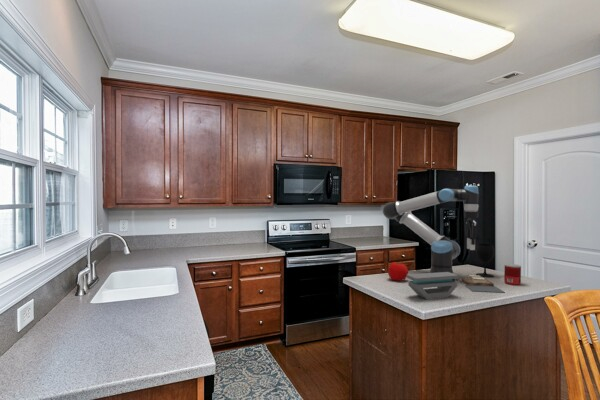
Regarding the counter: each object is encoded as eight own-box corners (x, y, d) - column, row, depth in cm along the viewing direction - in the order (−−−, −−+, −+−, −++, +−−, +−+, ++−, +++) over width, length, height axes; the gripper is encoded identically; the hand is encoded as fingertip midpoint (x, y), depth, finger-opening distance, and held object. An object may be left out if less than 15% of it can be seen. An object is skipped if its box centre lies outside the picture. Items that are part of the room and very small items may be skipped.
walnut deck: (467, 285, 183) (467, 282, 183) (461, 281, 193) (461, 278, 193) (493, 287, 181) (493, 283, 181) (486, 282, 191) (486, 279, 191)
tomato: (384, 278, 199) (384, 260, 199) (400, 277, 202) (400, 259, 202) (395, 283, 188) (395, 264, 188) (412, 282, 191) (412, 263, 191)
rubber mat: (472, 291, 172) (472, 290, 172) (465, 285, 183) (465, 285, 183) (504, 292, 170) (504, 292, 170) (495, 287, 181) (495, 286, 181)
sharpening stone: (447, 292, 171) (447, 271, 170) (458, 296, 163) (458, 275, 163) (406, 296, 164) (406, 274, 164) (415, 300, 156) (416, 278, 156)
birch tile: (485, 282, 182) (485, 279, 182) (474, 282, 183) (474, 278, 183) (479, 278, 191) (479, 275, 191) (468, 278, 192) (468, 275, 192)
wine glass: (474, 276, 206) (475, 244, 206) (476, 273, 214) (477, 243, 214) (493, 278, 200) (494, 246, 200) (495, 275, 208) (495, 244, 208)
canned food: (523, 286, 183) (523, 266, 183) (507, 285, 185) (507, 266, 185) (517, 282, 191) (517, 263, 191) (502, 281, 193) (502, 263, 192)
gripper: (483, 211, 187) (483, 251, 187) (472, 210, 204) (472, 247, 204) (469, 211, 188) (469, 251, 189) (459, 210, 205) (459, 247, 206)
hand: (470, 249), depth 196 cm, fingers open, 4 cm apart
